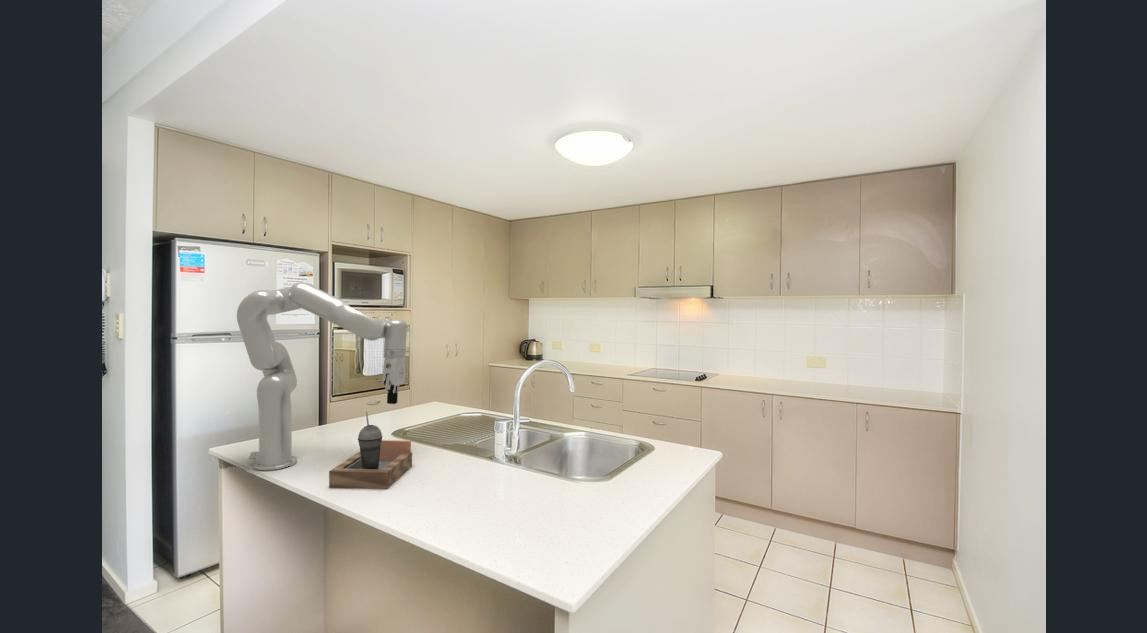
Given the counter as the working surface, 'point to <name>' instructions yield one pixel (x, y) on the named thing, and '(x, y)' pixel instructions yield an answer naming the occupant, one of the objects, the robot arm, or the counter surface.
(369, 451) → the beverage cup
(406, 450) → the tray
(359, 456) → the housing
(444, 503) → the counter surface
